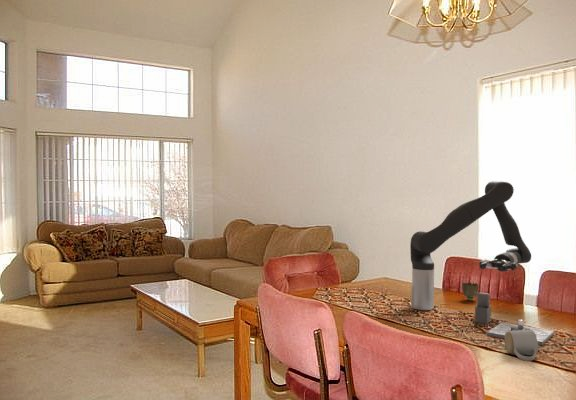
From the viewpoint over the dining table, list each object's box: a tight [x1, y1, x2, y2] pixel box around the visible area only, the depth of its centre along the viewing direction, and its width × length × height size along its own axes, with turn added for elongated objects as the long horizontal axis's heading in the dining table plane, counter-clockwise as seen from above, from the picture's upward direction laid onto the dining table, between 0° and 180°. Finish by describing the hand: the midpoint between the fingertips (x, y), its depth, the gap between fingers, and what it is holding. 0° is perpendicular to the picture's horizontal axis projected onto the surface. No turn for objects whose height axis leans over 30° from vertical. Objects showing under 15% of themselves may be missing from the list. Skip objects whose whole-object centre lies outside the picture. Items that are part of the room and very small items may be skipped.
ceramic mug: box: [504, 330, 539, 362], centre depth 159 cm, size 11×8×8 cm
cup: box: [461, 281, 479, 302], centre depth 241 cm, size 8×7×8 cm
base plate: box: [486, 319, 555, 346], centre depth 183 cm, size 18×18×5 cm
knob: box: [474, 292, 492, 325], centre depth 201 cm, size 5×5×11 cm
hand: (492, 267), depth 209 cm, fingers open, 8 cm apart
